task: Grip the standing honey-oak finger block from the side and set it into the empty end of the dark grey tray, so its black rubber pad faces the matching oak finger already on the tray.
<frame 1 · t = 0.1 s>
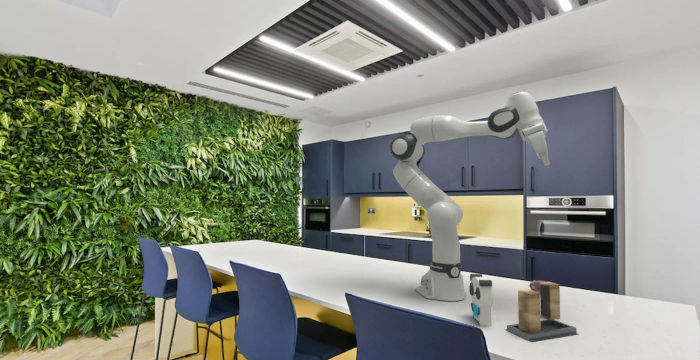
hand: (548, 166, 128), 52 cm above the table, tool tilted 20°, fingers open, 8 cm apart
dark grey tray: (541, 335, 103), on the table
video game controller: (542, 294, 149), on the table
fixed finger: (529, 333, 101), resting on dark grey tray
panda figurine: (481, 325, 111), on the table
oak finger: (550, 320, 116), on the table
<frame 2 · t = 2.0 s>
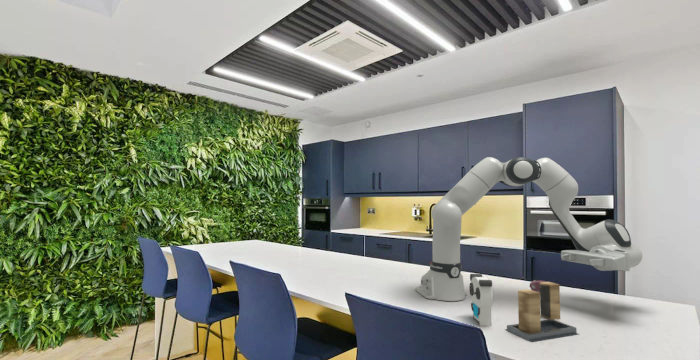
hand: (575, 260, 121), 19 cm above the table, tool horizontal, fingers open, 8 cm apart
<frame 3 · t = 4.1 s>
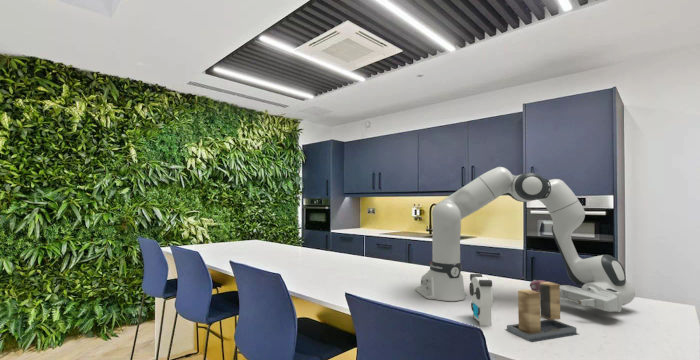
hand: (566, 298, 119), 6 cm above the table, tool horizontal, fingers open, 8 cm apart
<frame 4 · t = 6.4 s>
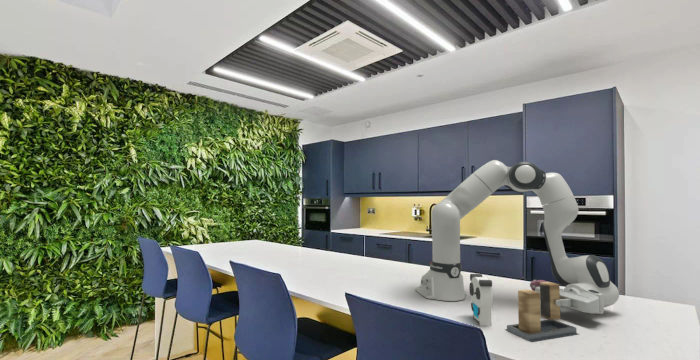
hand: (547, 300, 116), 7 cm above the table, tool horizontal, fingers closed on oak finger, 4 cm apart
oak finger: (550, 320, 116), on the table, touching gripper
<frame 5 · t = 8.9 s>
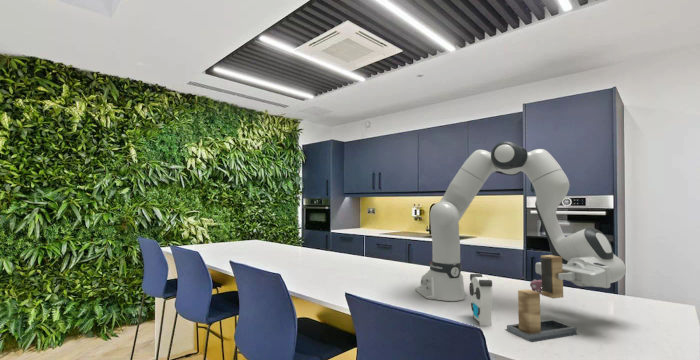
hand: (549, 274, 107), 17 cm above the table, tool horizontal, fingers closed on oak finger, 4 cm apart
oak finger: (552, 296, 107), point 10 cm above the table, touching gripper
when the fingers open (9 cm above the table, at t = 11.8 s): oak finger drops 1 cm, resting on dark grey tray.
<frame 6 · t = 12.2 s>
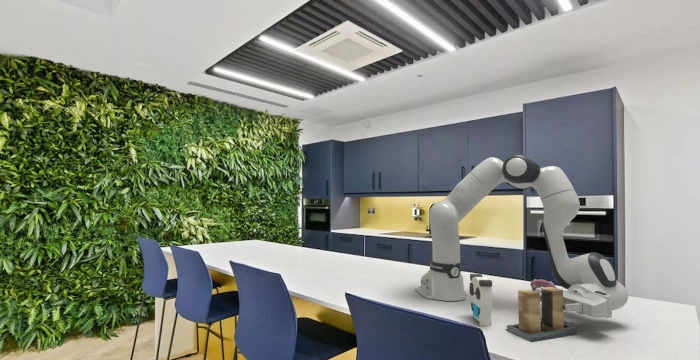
hand: (550, 302, 105), 9 cm above the table, tool horizontal, fingers open, 8 cm apart
oak finger: (552, 329, 104), point 1 cm above the table, touching dark grey tray
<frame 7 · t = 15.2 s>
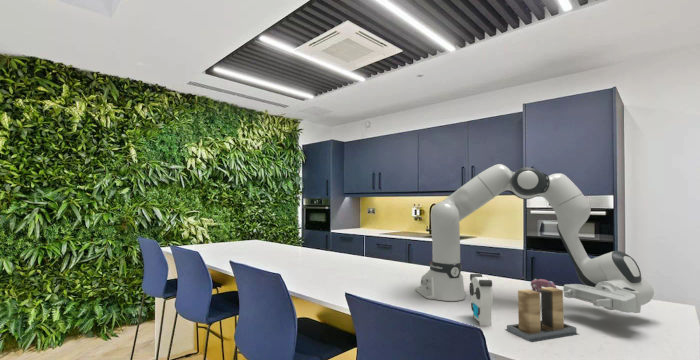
hand: (580, 298, 109), 9 cm above the table, tool horizontal, fingers open, 8 cm apart
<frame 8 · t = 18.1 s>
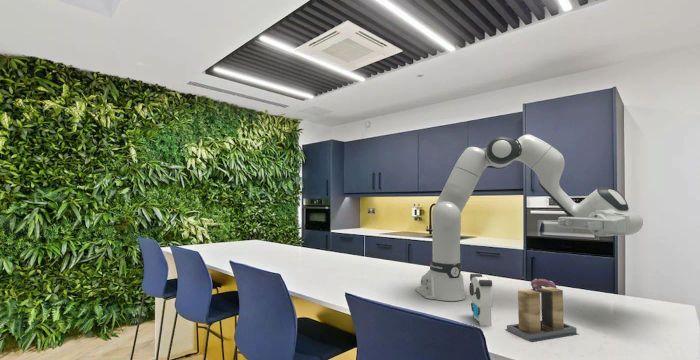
hand: (573, 223, 115), 32 cm above the table, tool horizontal, fingers open, 8 cm apart
at the end: oak finger 0.3 cm from the target spot, point 1.0 cm above the table; oak finger tilted 0°; the gripper is holding nothing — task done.
